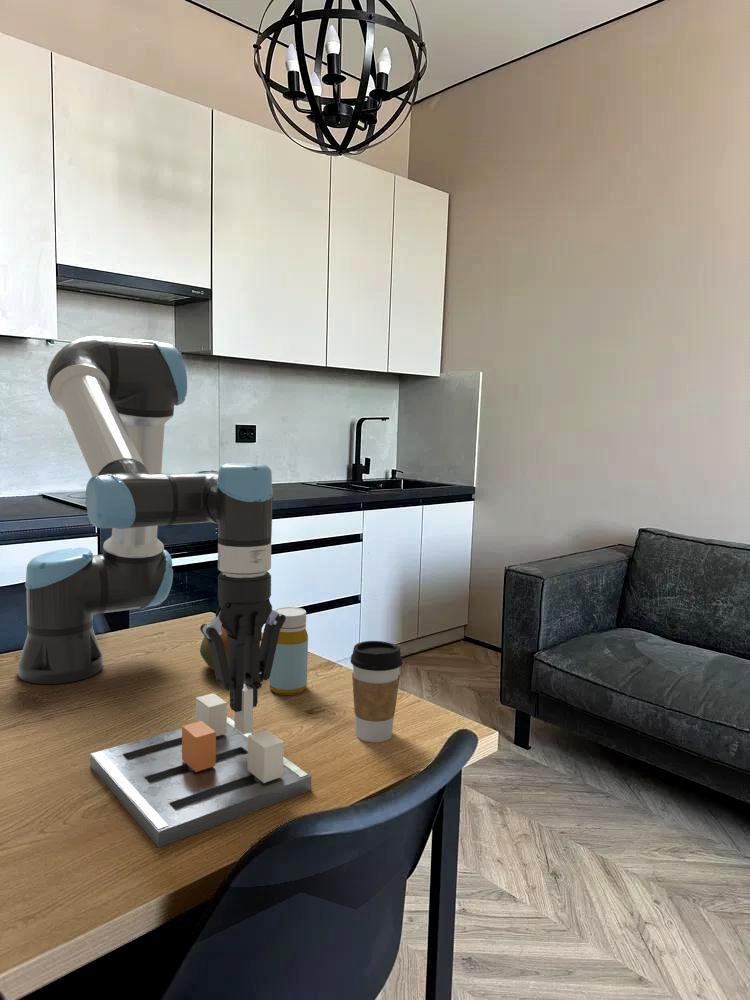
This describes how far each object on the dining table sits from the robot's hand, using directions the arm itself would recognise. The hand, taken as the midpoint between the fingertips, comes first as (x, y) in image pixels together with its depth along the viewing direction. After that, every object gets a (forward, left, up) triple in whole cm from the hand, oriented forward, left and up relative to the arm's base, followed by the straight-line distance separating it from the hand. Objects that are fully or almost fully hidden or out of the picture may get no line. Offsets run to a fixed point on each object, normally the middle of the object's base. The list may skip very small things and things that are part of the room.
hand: (243, 729), depth 104 cm
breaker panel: (0, -7, -5) cm, 9 cm away
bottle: (-20, +21, -6) cm, 30 cm away
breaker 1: (-8, -1, -4) cm, 9 cm away
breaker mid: (0, -7, -4) cm, 8 cm away
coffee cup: (+4, +22, -6) cm, 23 cm away
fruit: (-35, +16, -6) cm, 39 cm away
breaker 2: (+8, -1, -4) cm, 9 cm away
